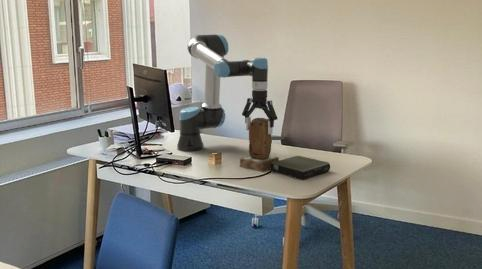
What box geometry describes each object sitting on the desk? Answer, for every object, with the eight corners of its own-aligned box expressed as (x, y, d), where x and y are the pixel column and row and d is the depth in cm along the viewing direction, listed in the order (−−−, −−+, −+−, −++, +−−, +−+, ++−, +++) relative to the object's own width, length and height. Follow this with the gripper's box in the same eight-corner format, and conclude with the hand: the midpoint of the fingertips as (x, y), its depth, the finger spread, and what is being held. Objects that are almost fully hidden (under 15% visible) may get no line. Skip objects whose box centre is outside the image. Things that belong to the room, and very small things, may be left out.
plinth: (240, 166, 268) (240, 158, 267) (256, 160, 278) (256, 152, 278) (262, 171, 259) (262, 162, 258) (278, 165, 270) (278, 157, 269)
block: (272, 157, 268) (272, 118, 264) (264, 160, 262) (264, 121, 258) (255, 154, 274) (255, 116, 270) (246, 157, 268) (246, 118, 264)
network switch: (293, 163, 275) (294, 154, 274) (333, 171, 261) (333, 161, 259) (266, 173, 258) (266, 163, 256) (307, 182, 243) (308, 171, 242)
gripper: (235, 88, 265) (235, 129, 270) (276, 92, 250) (275, 136, 255) (244, 86, 271) (244, 127, 276) (285, 91, 256) (284, 134, 261)
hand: (259, 131), depth 265 cm, fingers open, 13 cm apart
